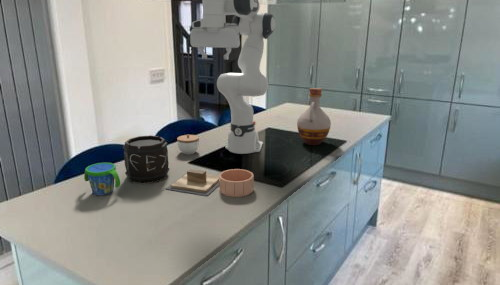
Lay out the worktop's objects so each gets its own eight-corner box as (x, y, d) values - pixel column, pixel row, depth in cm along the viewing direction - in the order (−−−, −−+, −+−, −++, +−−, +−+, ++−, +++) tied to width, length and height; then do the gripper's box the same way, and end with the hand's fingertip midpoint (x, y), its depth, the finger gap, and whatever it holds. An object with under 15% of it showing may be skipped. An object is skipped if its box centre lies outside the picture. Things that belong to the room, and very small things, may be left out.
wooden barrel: (124, 187, 146) (120, 149, 142) (126, 171, 163) (123, 136, 158) (171, 182, 151) (168, 145, 146) (168, 167, 168) (166, 133, 163)
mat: (187, 173, 161) (187, 172, 161) (226, 178, 155) (226, 177, 155) (165, 189, 144) (165, 188, 144) (207, 196, 139) (207, 195, 139)
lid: (189, 173, 159) (188, 162, 157) (221, 178, 154) (221, 167, 153) (170, 187, 145) (170, 175, 144) (205, 192, 140) (205, 180, 139)
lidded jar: (195, 156, 181) (194, 138, 179) (174, 155, 183) (173, 136, 181) (202, 149, 191) (201, 132, 189) (182, 148, 193) (181, 131, 191)
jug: (326, 150, 191) (330, 92, 182) (292, 147, 196) (294, 90, 187) (331, 140, 208) (335, 86, 199) (299, 137, 214) (302, 84, 205)
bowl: (227, 181, 152) (227, 167, 151) (257, 185, 148) (257, 171, 146) (214, 193, 141) (213, 179, 139) (246, 199, 136) (246, 183, 135)
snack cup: (128, 191, 143) (126, 166, 140) (106, 201, 134) (103, 175, 131) (101, 183, 150) (98, 159, 147) (78, 192, 141) (74, 167, 138)
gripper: (242, 23, 145) (242, 59, 149) (195, 23, 152) (196, 58, 156) (236, 22, 140) (236, 60, 144) (187, 23, 146) (189, 59, 150)
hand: (215, 59), depth 150 cm, fingers open, 8 cm apart
